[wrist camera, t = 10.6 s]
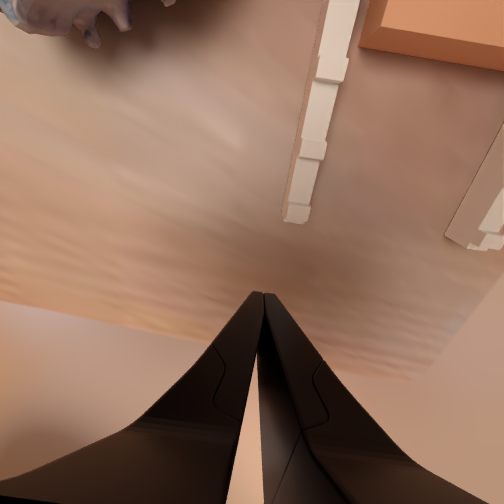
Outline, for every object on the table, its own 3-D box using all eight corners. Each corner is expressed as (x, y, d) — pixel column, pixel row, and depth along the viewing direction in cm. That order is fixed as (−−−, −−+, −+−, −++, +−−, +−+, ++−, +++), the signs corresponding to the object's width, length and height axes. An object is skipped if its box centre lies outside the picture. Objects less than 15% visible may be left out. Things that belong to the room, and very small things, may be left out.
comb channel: (734, -238, 10) (1338, -710, 5) (462, 237, 20) (542, 281, 14) (382, -306, 10) (546, -907, 4) (280, 211, 20) (287, 244, 14)
